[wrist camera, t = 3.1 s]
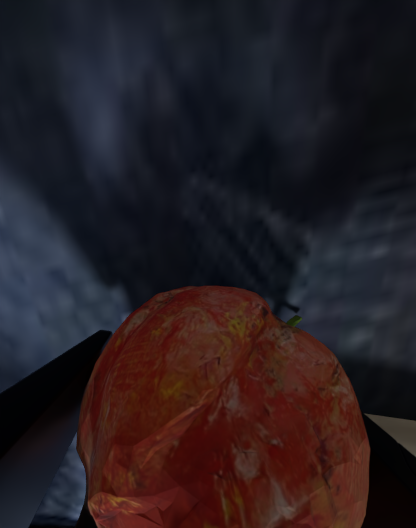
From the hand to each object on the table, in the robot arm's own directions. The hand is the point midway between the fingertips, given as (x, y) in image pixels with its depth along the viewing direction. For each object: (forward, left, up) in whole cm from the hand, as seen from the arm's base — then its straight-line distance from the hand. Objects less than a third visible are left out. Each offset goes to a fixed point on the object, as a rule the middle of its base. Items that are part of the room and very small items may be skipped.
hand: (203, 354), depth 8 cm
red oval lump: (0, 0, -2) cm, 2 cm away
